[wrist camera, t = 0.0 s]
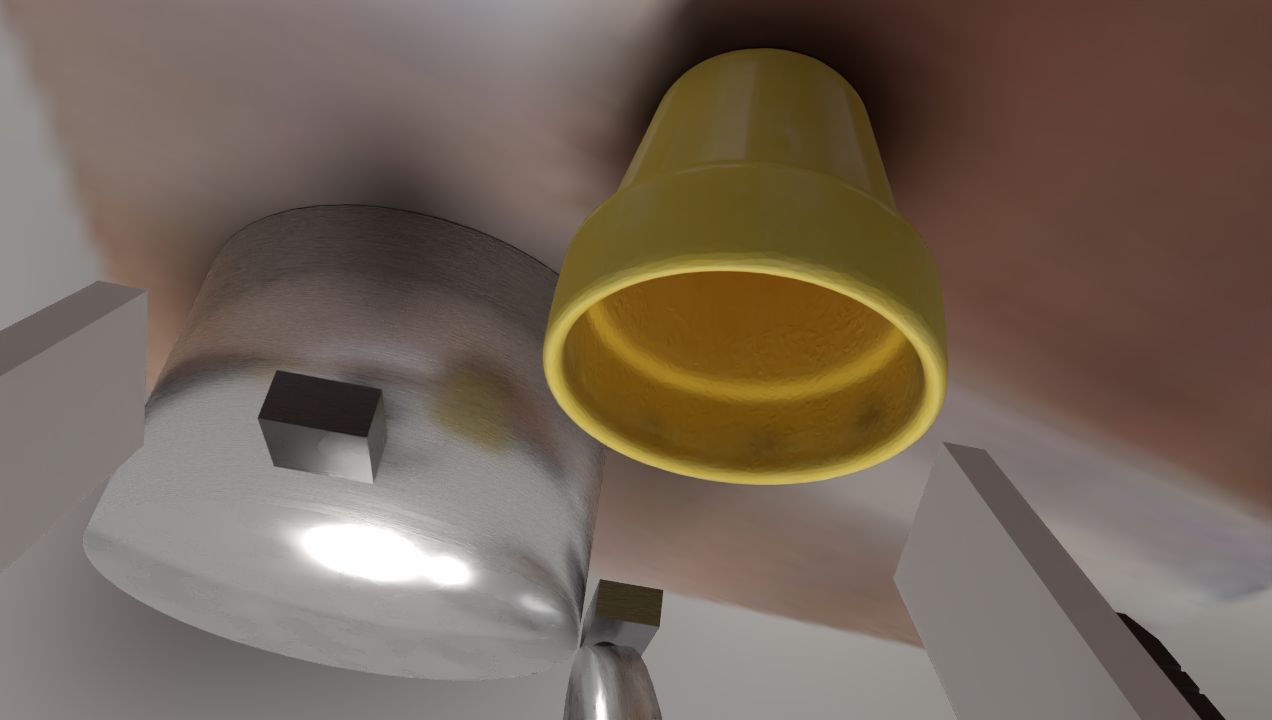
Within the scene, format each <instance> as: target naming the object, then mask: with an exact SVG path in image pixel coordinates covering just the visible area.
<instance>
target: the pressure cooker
mask: <svg viewBox="0 0 1272 720" xmlns="http://www.w3.org/2000/svg"><path fill="white" fill-rule="evenodd" d="M558 279H559V276H558V275H557V274H556V273H555V272H553V271H552V270H550V269H549V268H547V267H545V266H544V265H542V264H541V263H539V262H538V261H536V260H535V259H533V258H532V257H530V256H528V255H526V254H524V253H522V252H521V251H519V250H517V249H515V248H513V247H511V246H509V245H507V244H506V243H503V242H501V241H499V240H496V239H494V238H492V237H489V236H487V235H485V234H482V233H480V232H478V231H475V230H472V229H469V228H466V227H463V226H460V225H457V224H454V223H451V222H448V221H445V220H441V219H437V218H433V217H429V216H425V215H421V214H417V213H413V212H407V211H400V210H394V209H388V208H381V207H368V206H353V205H341V206H317V207H310V208H302V209H295V210H290V211H287V212H283V213H279V214H275V215H272V216H269V217H266V218H264V219H262V220H259V221H257V222H255V223H253V224H250V225H248V226H247V227H245V228H244V229H243V230H241V231H240V232H238V233H237V234H235V235H234V236H233V237H232V238H231V239H230V240H229V241H228V242H227V243H226V244H225V245H224V246H223V247H222V248H221V250H220V251H219V253H218V255H217V257H216V259H215V260H214V262H213V264H212V266H211V268H210V270H209V273H208V275H207V277H206V279H205V281H204V283H203V285H202V287H201V289H200V291H199V294H198V296H197V298H196V300H195V302H194V304H193V306H192V308H191V310H190V312H189V314H188V317H187V319H186V321H185V323H184V325H183V327H182V329H181V331H180V333H179V335H178V338H177V340H176V342H175V344H174V346H173V348H172V350H171V352H170V354H169V356H168V358H167V361H166V363H165V365H164V367H163V369H162V371H161V373H160V375H159V377H158V379H157V382H156V384H155V386H154V388H153V390H152V392H151V394H150V396H149V398H148V400H147V402H146V405H145V424H144V445H143V446H142V447H141V448H140V449H139V450H138V451H137V452H136V453H135V454H133V455H132V456H131V457H130V458H129V459H128V460H127V461H126V462H125V463H123V464H122V465H121V466H120V467H119V468H118V469H117V470H116V471H114V472H113V474H112V476H111V478H110V480H109V482H108V484H107V486H106V488H105V490H104V493H103V495H102V497H101V499H100V501H99V503H98V505H97V507H96V509H95V511H94V514H93V516H92V518H91V520H90V522H89V524H88V526H87V528H86V530H85V532H84V536H83V547H84V550H85V553H86V556H87V557H88V558H89V560H90V561H91V563H92V564H93V565H94V567H95V568H96V569H97V570H98V571H99V572H100V573H101V574H102V575H103V576H104V577H105V578H107V579H108V580H109V581H111V582H112V583H113V584H115V585H116V586H117V587H119V588H120V589H122V590H123V591H125V592H126V593H128V594H129V595H131V596H133V597H134V598H136V599H137V600H139V601H141V602H143V603H145V604H147V605H149V606H151V607H152V608H154V609H156V610H158V611H160V612H163V613H165V614H167V615H169V616H171V617H173V618H175V619H178V620H180V621H182V622H185V623H188V624H190V625H192V626H195V627H197V628H200V629H202V630H205V631H208V632H210V633H213V634H216V635H219V636H222V637H224V638H227V639H230V640H234V641H237V642H240V643H243V644H246V645H249V646H253V647H256V648H259V649H263V650H267V651H270V652H274V653H277V654H281V655H285V656H289V657H294V658H297V659H302V660H306V661H310V662H315V663H320V664H325V665H329V666H334V667H340V668H346V669H351V670H357V671H364V672H370V673H377V674H384V675H392V676H402V677H411V678H423V679H439V680H440V679H441V680H488V679H489V680H490V679H504V678H512V677H520V676H525V675H529V674H534V673H538V672H541V671H544V670H548V669H551V668H553V667H555V666H557V665H559V664H561V663H563V662H564V661H565V660H567V659H568V658H569V657H570V656H572V654H573V653H574V651H575V650H576V648H577V643H578V637H579V631H580V623H581V617H582V611H583V604H584V596H585V590H586V584H587V578H588V571H589V564H590V558H591V551H592V545H593V538H594V531H595V525H596V518H597V511H598V505H599V498H600V492H601V485H602V478H603V472H604V465H605V458H606V452H607V446H606V445H605V444H603V443H601V442H600V441H598V440H597V439H595V438H594V437H592V436H591V435H589V434H588V433H587V432H585V431H584V430H583V429H582V428H581V427H579V426H578V425H577V424H576V423H575V422H574V421H573V420H572V419H571V418H570V417H569V416H568V415H567V414H566V413H565V411H564V410H563V409H562V408H561V407H560V405H559V404H558V402H557V401H556V399H555V398H554V396H553V394H552V392H551V390H550V388H549V385H548V383H547V380H546V376H545V372H544V367H543V345H544V339H545V333H546V328H547V324H548V319H549V314H550V310H551V306H552V302H553V298H554V293H555V289H556V286H557V282H558ZM662 597H663V590H659V589H653V588H648V587H642V586H636V585H630V584H625V583H619V582H613V581H607V580H601V579H600V581H599V583H598V586H597V589H596V591H595V593H594V596H593V598H592V601H591V603H590V606H589V608H588V611H587V613H586V616H585V618H584V622H583V629H582V635H581V643H580V648H581V647H583V646H593V645H594V644H596V643H599V642H603V641H606V642H611V643H613V644H615V645H617V646H630V647H633V648H634V649H635V650H636V651H637V652H638V653H639V654H640V656H642V654H643V652H644V651H645V649H646V648H647V646H648V644H649V643H650V641H651V640H652V638H653V637H654V635H655V633H656V632H657V630H658V629H659V626H660V617H661V607H662Z"/></svg>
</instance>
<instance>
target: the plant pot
mask: <svg viewBox="0 0 1272 720" xmlns="http://www.w3.org/2000/svg"><path fill="white" fill-rule="evenodd" d="M543 367H544V372H545V376H546V380H547V383H548V385H549V388H550V390H551V392H552V394H553V396H554V398H555V399H556V401H557V402H558V404H559V405H560V407H561V408H562V409H563V410H564V411H565V413H566V414H567V415H568V416H569V417H570V418H571V419H572V420H573V421H574V422H575V423H576V424H577V425H578V426H579V427H581V428H582V429H583V430H584V431H585V432H587V433H588V434H589V435H591V436H592V437H594V438H595V439H597V440H598V441H600V442H601V443H603V444H605V445H606V446H608V447H610V448H612V449H613V450H615V451H617V452H619V453H621V454H624V455H626V456H628V457H630V458H632V459H635V460H637V461H640V462H642V463H645V464H647V465H650V466H654V467H657V468H660V469H663V470H666V471H670V472H673V473H677V474H681V475H686V476H691V477H695V478H700V479H705V480H711V481H718V482H727V483H736V484H757V485H779V484H795V483H805V482H813V481H820V480H826V479H831V478H835V477H839V476H843V475H847V474H851V473H854V472H858V471H861V470H863V469H866V468H869V467H872V466H874V465H877V464H879V463H881V462H883V461H885V460H888V459H890V458H891V457H893V456H895V455H897V454H898V453H900V452H902V451H903V450H905V449H906V448H908V447H909V446H910V445H912V444H913V443H914V442H915V441H917V440H918V439H919V438H920V437H921V436H922V435H923V434H924V433H925V432H926V431H927V430H928V428H929V427H930V426H931V425H932V423H933V422H934V421H935V419H936V417H937V415H938V413H939V411H940V409H941V407H942V404H943V402H944V398H945V395H946V390H947V378H948V358H947V337H946V324H945V313H944V305H943V297H942V290H941V284H940V279H939V273H938V269H937V266H936V263H935V260H934V258H933V256H932V253H931V252H930V250H929V248H928V246H927V245H926V243H925V241H924V240H923V238H922V237H921V236H920V234H919V233H918V232H917V231H916V229H915V228H914V227H913V226H912V225H911V224H910V223H909V222H908V221H907V220H906V219H905V218H904V217H903V216H902V215H901V214H900V213H899V212H898V209H897V206H896V203H895V200H894V197H893V194H892V191H891V188H890V184H889V181H888V178H887V175H886V172H885V169H884V166H883V163H882V160H881V157H880V153H879V150H878V147H877V144H876V140H875V137H874V134H873V130H872V127H871V124H870V121H869V117H868V114H867V111H866V109H865V106H864V104H863V102H862V100H861V98H860V97H859V95H858V94H857V92H856V91H855V90H854V88H853V87H852V86H851V85H850V84H849V83H848V82H847V81H846V80H845V79H844V78H843V77H842V76H841V75H840V74H838V73H837V72H836V71H834V70H833V69H832V68H830V67H829V66H827V65H825V64H824V63H822V62H820V61H818V60H817V59H815V58H812V57H809V56H806V55H803V54H800V53H796V52H792V51H788V50H782V49H773V48H759V49H743V50H737V51H731V52H728V53H724V54H720V55H717V56H714V57H712V58H710V59H707V60H705V61H703V62H701V63H699V64H697V65H696V66H694V67H692V68H691V69H690V70H688V71H687V72H686V73H684V74H683V75H682V76H681V77H680V78H679V79H678V80H677V81H676V82H675V83H674V84H673V85H672V86H671V87H670V88H669V90H668V91H667V93H666V94H665V95H664V97H663V99H662V101H661V103H660V104H659V106H658V109H657V111H656V113H655V115H654V117H653V119H652V121H651V123H650V125H649V127H648V129H647V132H646V134H645V136H644V138H643V140H642V142H641V144H640V146H639V148H638V150H637V152H636V154H635V156H634V158H633V160H632V162H631V164H630V166H629V168H628V170H627V172H626V174H625V176H624V178H623V180H622V182H621V184H620V186H619V188H618V189H617V191H616V193H615V194H613V195H612V196H611V197H609V198H608V199H607V200H605V201H604V202H603V203H602V204H600V205H599V206H598V207H597V208H596V209H595V210H594V211H593V212H592V213H591V214H590V215H589V216H588V217H587V218H586V219H585V221H584V222H583V223H582V225H581V226H580V227H579V229H578V230H577V232H576V233H575V235H574V237H573V239H572V241H571V243H570V245H569V247H568V250H567V253H566V256H565V259H564V262H563V265H562V269H561V272H560V276H559V279H558V282H557V286H556V289H555V293H554V298H553V302H552V306H551V310H550V314H549V319H548V324H547V328H546V333H545V339H544V345H543Z"/></svg>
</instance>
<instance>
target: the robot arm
mask: <svg viewBox="0 0 1272 720" xmlns="http://www.w3.org/2000/svg"><path fill="white" fill-rule="evenodd" d="M147 311H148V290H144V289H139V288H133V287H128V286H123V285H118V284H112V283H107V282H102V281H97V282H95V283H93V284H91V285H89V286H87V287H85V288H83V289H82V290H80V291H78V292H76V293H74V294H72V295H70V296H68V297H66V298H64V299H62V300H60V301H58V302H56V303H54V304H52V305H50V306H49V307H46V308H44V309H42V310H40V311H39V312H36V313H35V314H33V315H31V316H29V317H27V318H25V319H23V320H21V321H19V322H17V323H15V324H13V325H12V326H9V327H7V328H5V329H3V330H1V331H0V574H1V572H3V571H4V570H5V569H6V568H7V567H8V566H10V565H11V564H12V563H13V562H14V561H15V560H16V559H17V558H19V557H20V556H21V555H22V554H23V553H24V552H25V551H26V550H27V549H29V548H30V547H31V546H32V545H33V544H34V543H35V542H36V541H37V540H39V539H40V538H41V537H42V536H43V535H44V534H45V533H46V532H48V531H49V530H50V529H51V528H52V527H53V526H54V525H55V524H56V523H58V522H59V521H60V520H61V519H62V518H63V517H64V516H65V515H67V514H68V513H69V512H70V511H71V510H72V509H73V508H74V507H75V506H77V505H78V504H79V503H80V502H81V501H82V500H83V499H84V498H85V497H87V496H88V495H89V494H90V493H91V492H92V491H93V490H94V489H96V488H97V487H98V486H99V485H100V484H101V483H102V482H103V481H104V480H106V479H107V478H108V477H109V476H110V475H111V474H112V473H113V472H114V471H116V470H117V469H118V468H119V467H120V466H121V465H122V464H123V463H125V462H126V461H127V460H128V459H129V458H130V457H131V456H132V455H133V454H135V453H136V452H137V451H138V450H139V449H140V448H141V447H142V446H143V445H144V424H145V386H146V349H147ZM893 579H894V582H895V584H896V586H897V588H898V590H899V592H900V595H901V597H902V599H903V601H904V603H905V606H906V608H907V610H908V612H909V614H910V616H911V619H912V621H913V623H914V625H915V627H916V629H917V632H918V634H919V636H920V638H921V640H922V642H923V645H924V647H925V649H926V651H927V653H928V656H929V658H930V660H931V662H932V664H933V666H934V668H935V671H936V673H937V675H938V677H939V679H940V682H941V684H942V686H943V688H944V690H945V693H946V694H947V697H948V699H949V701H950V703H951V705H952V707H953V710H954V712H955V714H956V716H957V719H958V720H1225V719H1224V717H1223V716H1222V715H1221V714H1220V713H1219V711H1218V710H1217V709H1216V708H1215V707H1214V705H1213V704H1212V703H1211V702H1210V701H1209V699H1208V698H1207V697H1206V696H1205V695H1204V694H1200V693H1199V687H1198V686H1197V685H1196V684H1195V683H1194V681H1193V680H1192V679H1191V678H1190V677H1189V675H1188V674H1187V673H1186V672H1182V671H1181V666H1180V665H1179V664H1178V662H1177V661H1176V660H1175V659H1174V658H1173V656H1172V655H1171V654H1170V653H1169V652H1168V650H1167V649H1166V648H1165V647H1164V646H1163V644H1162V643H1161V642H1160V641H1159V640H1158V639H1157V638H1156V637H1154V636H1153V635H1152V634H1150V633H1149V632H1148V631H1147V630H1145V629H1144V628H1143V627H1141V626H1140V625H1139V624H1138V623H1136V622H1135V621H1134V620H1132V619H1131V618H1130V617H1128V616H1127V615H1126V614H1122V613H1116V612H1115V611H1114V610H1113V609H1112V607H1111V606H1110V605H1109V604H1108V602H1107V601H1106V600H1105V599H1104V598H1103V596H1102V595H1101V594H1100V593H1099V591H1098V590H1097V589H1096V588H1095V586H1094V585H1093V584H1092V583H1091V581H1090V580H1089V579H1088V578H1087V576H1086V575H1085V574H1084V573H1083V571H1082V570H1081V569H1080V568H1079V566H1078V565H1077V564H1076V563H1075V561H1074V560H1073V559H1072V558H1071V556H1070V555H1069V554H1068V553H1067V551H1066V550H1065V549H1064V548H1063V546H1062V545H1061V544H1060V543H1059V541H1058V540H1057V539H1056V538H1055V536H1054V535H1053V534H1052V533H1051V531H1050V530H1049V529H1048V528H1047V526H1046V525H1045V524H1044V523H1043V521H1042V520H1041V519H1040V518H1039V517H1038V515H1037V514H1036V513H1035V512H1034V510H1033V509H1032V508H1031V507H1030V505H1029V504H1028V503H1027V502H1026V500H1025V499H1024V498H1023V497H1022V495H1021V494H1020V493H1019V492H1018V490H1017V489H1016V488H1015V487H1014V485H1013V484H1012V483H1011V482H1010V480H1009V479H1008V478H1007V477H1006V475H1005V474H1004V473H1003V472H1002V470H1001V469H1000V468H999V467H998V465H997V464H996V463H995V462H994V460H993V459H992V458H991V457H990V455H989V454H988V453H987V452H986V450H983V449H978V448H973V447H967V446H962V445H957V444H952V443H946V442H941V445H940V448H939V451H938V454H937V457H936V459H935V462H934V465H933V468H932V471H931V473H930V476H929V479H928V482H927V485H926V488H925V490H924V493H923V496H922V499H921V502H920V504H919V507H918V510H917V513H916V516H915V519H914V521H913V524H912V527H911V530H910V533H909V535H908V538H907V541H906V544H905V547H904V550H903V552H902V555H901V558H900V561H899V564H898V566H897V569H896V572H895V575H894V578H893Z"/></svg>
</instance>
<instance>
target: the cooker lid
mask: <svg viewBox="0 0 1272 720" xmlns="http://www.w3.org/2000/svg"><path fill="white" fill-rule="evenodd" d="M563 720H662V716H661V712H660V708H659V705H658V701H657V697H656V694H655V691H654V687H653V684H652V681H651V678H650V676H649V673H648V670H647V667H646V665H645V663H644V662H643V660H642V658H641V656H640V654H639V653H638V652H637V651H636V650H635V649H634V648H633V647H630V646H617V645H615V644H613V643H611V642H606V641H603V642H599V643H596V644H594V645H593V646H583V647H581V648H580V649H579V650H578V652H577V654H576V656H575V659H574V662H573V665H572V668H571V673H570V677H569V683H568V688H567V694H566V700H565V709H564V716H563Z"/></svg>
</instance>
